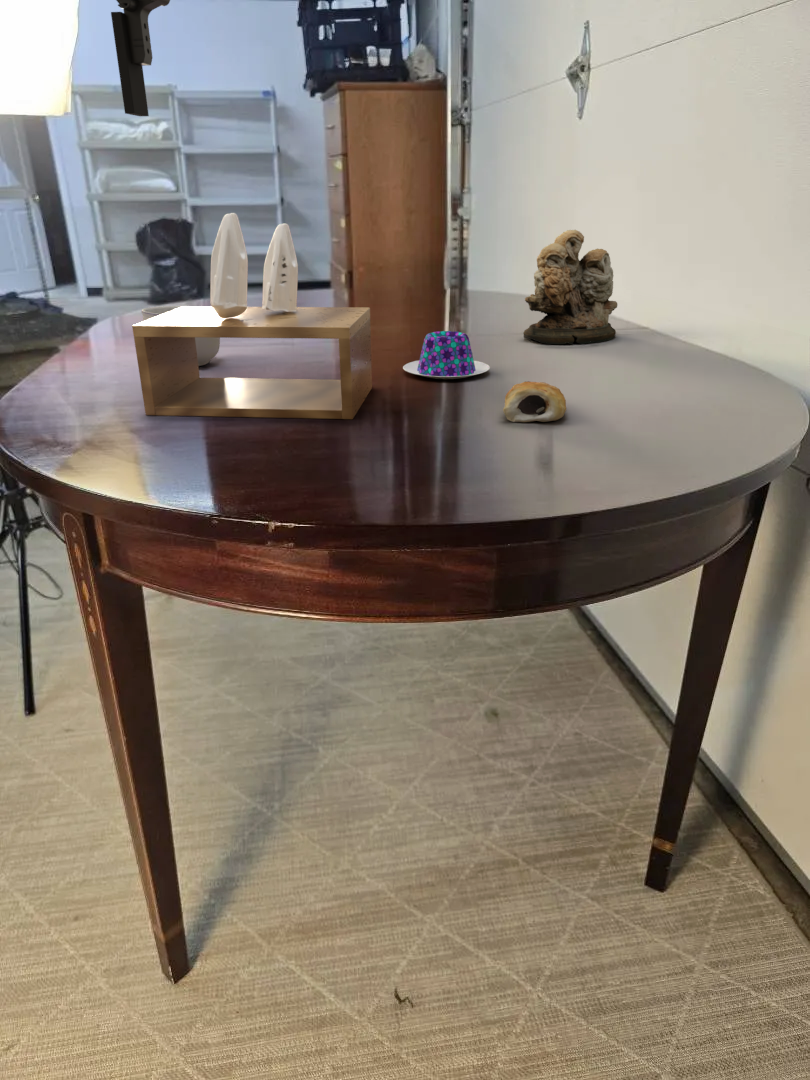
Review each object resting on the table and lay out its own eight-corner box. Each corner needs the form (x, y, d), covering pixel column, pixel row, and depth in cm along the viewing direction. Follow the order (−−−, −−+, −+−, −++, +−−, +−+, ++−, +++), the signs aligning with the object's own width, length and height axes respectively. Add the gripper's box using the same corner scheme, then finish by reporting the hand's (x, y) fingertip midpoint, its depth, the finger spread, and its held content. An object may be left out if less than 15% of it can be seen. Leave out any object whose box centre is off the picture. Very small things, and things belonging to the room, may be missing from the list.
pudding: (452, 360, 115) (452, 324, 112) (507, 374, 106) (509, 335, 104) (386, 371, 108) (385, 333, 106) (439, 386, 99) (439, 345, 97)
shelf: (145, 415, 88) (131, 325, 84) (192, 384, 102) (182, 306, 98) (352, 419, 86) (349, 327, 82) (372, 387, 99) (370, 307, 95)
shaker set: (218, 323, 85) (206, 214, 80) (199, 319, 87) (187, 213, 83) (308, 312, 92) (302, 211, 87) (289, 308, 95) (282, 210, 90)
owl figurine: (548, 349, 122) (556, 232, 115) (503, 338, 131) (508, 230, 124) (632, 338, 130) (644, 229, 123) (584, 328, 139) (592, 226, 132)
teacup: (153, 358, 118) (146, 304, 115) (226, 355, 120) (220, 301, 116) (142, 378, 106) (133, 318, 102) (223, 374, 107) (217, 315, 104)
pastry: (509, 401, 92) (511, 369, 91) (567, 404, 91) (569, 372, 89) (501, 422, 84) (503, 387, 82) (564, 426, 83) (567, 390, 81)
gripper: (-224, -258, 50) (-127, 115, 59) (147, -285, 47) (190, 109, 56) (-138, -205, 57) (-63, 123, 66) (190, -226, 54) (222, 117, 63)
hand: (54, 117), depth 61 cm, fingers open, 13 cm apart
